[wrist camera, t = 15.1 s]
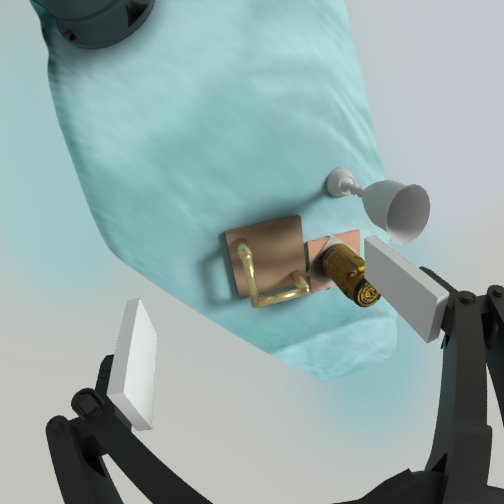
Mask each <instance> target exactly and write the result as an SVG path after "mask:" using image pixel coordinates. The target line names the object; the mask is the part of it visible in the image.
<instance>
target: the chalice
mask: <svg viewBox="0 0 504 504" xmlns="http://www.w3.org/2000/svg"><path fill="white" fill-rule="evenodd" d="M327 188H328V191H329V192H330V194H331V195H333V196H334V197H339V198H340V197H344V196H348V195H349V194H353V195H356V194H357V196H358V197H362V201H363V205H364V208H365V211H366V213H367V215H368V216H369V218H370V220H371V221H372V223H374V224H375V225H377V226H378V227H380V228H381V229H383V230H385V231H386V232H388V235H389V236H390V238H391V240H392V241H394V242H395V243H397V244H403V245H404V244H407V243H410V242H412V241H413V240H414V239H416V238H417V237H418V236H419V235H420V234H421V232H422V231H423V229H424V228H425V225H426V224H427V220H428V217H429V212H430V202H429V197H428V195H427V193H426V191H425V190H424V189H423V188H422V187H421V186H419V185H415V184H413V185H408V186H406V185H404V184H401V183H398V182H395V181H392V180H386V181H381V182H376V183H374V184H372V185H370V186H368V187H367V188H364V187H363V186H361V187H360V186H359V185H358V184H357V183H355V180H354V178H353V176H352V174H351V172H350V171H349V170H347V169H346V168H342V167H341V168H336V169H334V170H333V171H332V172H331V173H330V174H329V176H328V178H327Z"/></svg>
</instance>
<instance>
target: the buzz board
mask: <svg viewBox="0 0 504 504" xmlns="http://www.w3.org/2000/svg"><path fill="white" fill-rule="evenodd" d="M224 232H225V237H226V241H227V246H228V250H229V255H230V259H231V264H232V268H233V273H234V277H235V282H236V286H237V291H238V295H239V298H240V299H244V298H248V297H250V296H249V291H248V287H247V282H246V277H245V272H244V267H243V262H242V261H241V259H240V257H239V254H238V252H237V249H236V246H235V241H236V239H238V238H244V239H245V240H246V242H247V244H248V246H249V248H250V250H251V252H252V254H253V259H252V261H253V266H254V272H255V277H256V282H257V288H258V293H259V295H260V294H264V293H267V292H271V291H275V290H279V289H283V288H287V287H290V286H294V285H295V284H294V282H293V281H292V279H291V278H290V274H291V272H293V271H295V270H297V271H299V272H300V273H301V275H302V276H303V278H304V279H305V280H306V282H307V276H306V265H305V255H304V244H303V235H302V226H301V217H300V216H299V215H295V216H291V217H286V218H282V219H277V220H273V221H268V222H264V223H259V224H255V225H250V226H246V227H242V228H237V229H233V230H229V231H224Z"/></svg>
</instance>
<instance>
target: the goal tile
mask: <svg viewBox="0 0 504 504" xmlns="http://www.w3.org/2000/svg"><path fill="white" fill-rule="evenodd" d="M335 236H336V237H338V238H339V239H341V240H342V241H344V242H345V243H347V244H348V245H350V246H351V247H353V248H354V249H356V250H357V251H359V252H360V230H359V229H357V230H353V231H349V232H345V233H341V234H337V235H335ZM330 237H331V236H328V237H324V238H320V239H316V240H312V241H308V242H307V250H308V261H309V268H310V267H311V265H312V264H313V262H314V261H315V260H316V258H317V256H318V255H319V253H320V252H321V250H322V249H323V247H324V246H325V245H326V243H327V241H328V240H329V239H330ZM358 256H359V257H360V253H359V254H358ZM310 285H311V292H312V293H314V292H317V291H321V290H324V289H327V288H330V287H328V286H326V285H324V284H322V283H320V282H318V281H316V280H314V279H312V278H310Z"/></svg>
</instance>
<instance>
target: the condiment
mask: <svg viewBox="0 0 504 504" xmlns="http://www.w3.org/2000/svg"><path fill="white" fill-rule="evenodd" d="M359 253H360V252H359V251H357V250H356V249H354V248H353V247H351V246H350V245H348V244H347V243H345V242H344V241H342V240H341V239H339V238H338V237H336V236H335V235H333V234H332V236H331V237H330V239H329V240H328V241H327V243H326V245H325V246H324V247H323V249H322V250H321V252H320V253H319V255H318V256H317V258H316V260H315V261H314V262H313V264H312V265H311V267H310V268H309V270H308V271H307V273H306V276H308V277H310V278H312V279H314V280H316V281H318V282H320V283H322V284H324V285H326V286H328V287H330V288H332V289H333V290H334V288H335V287H336V286H338V287H339V288H340V290H341V291H342V292H343V293H344V294H345V296H346V297H348V298H349V299H351V300H353V301H354V302H355V303H356V304H357V305H358V306H360V307H369V306H371V305H373V304H374V303H376V302H377V301H378V300H379V299H380V297H381V294H380V293H379V292H378V291H377V290H376V289H375V288H374V287H373V286H372V285H371V284H370V283H369V282H368V281H367V280H366V279H365V278H364V274H365V261H364V260H363V259H362V258H360V257H359V256H358V254H359Z"/></svg>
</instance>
